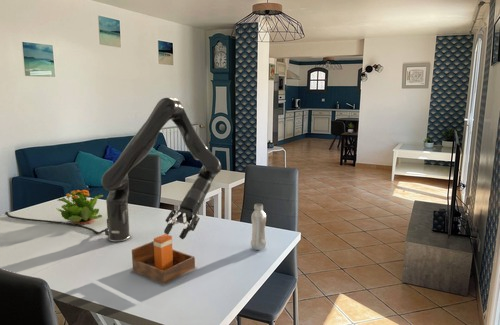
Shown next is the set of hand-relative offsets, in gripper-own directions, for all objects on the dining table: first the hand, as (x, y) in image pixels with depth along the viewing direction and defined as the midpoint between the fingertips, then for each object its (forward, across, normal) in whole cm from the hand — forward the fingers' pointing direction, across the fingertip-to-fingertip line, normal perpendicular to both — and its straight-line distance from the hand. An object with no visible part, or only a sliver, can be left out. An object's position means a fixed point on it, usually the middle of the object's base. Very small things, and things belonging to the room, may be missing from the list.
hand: (173, 235), depth 146 cm
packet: (+12, 0, +5) cm, 13 cm away
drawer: (+12, 0, +5) cm, 13 cm away
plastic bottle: (-14, +18, +32) cm, 39 cm away
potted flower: (+3, -77, +14) cm, 78 cm away
